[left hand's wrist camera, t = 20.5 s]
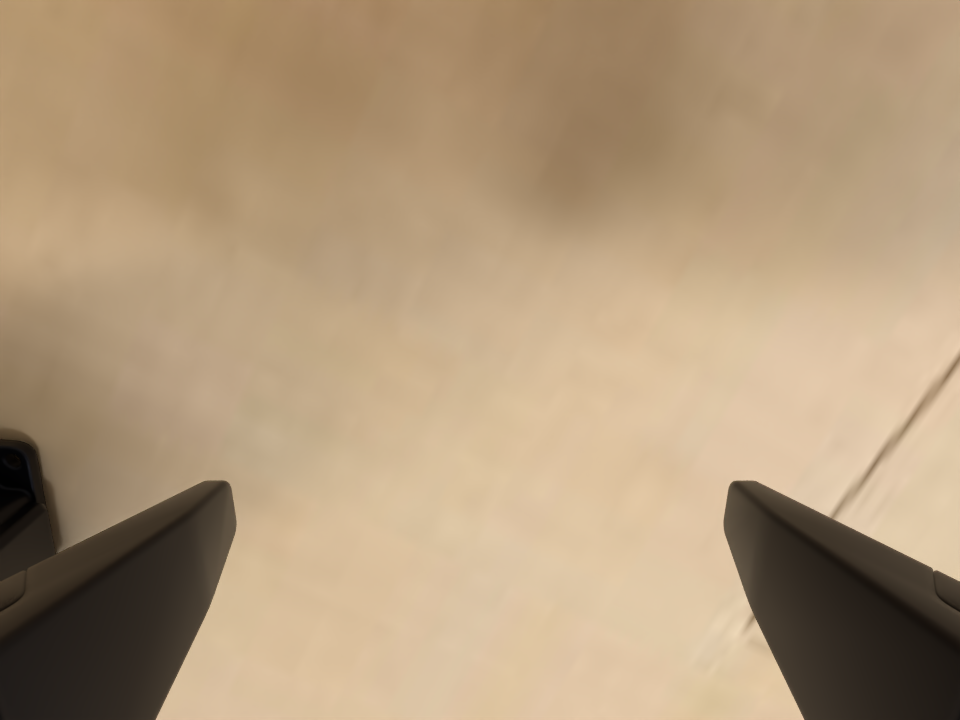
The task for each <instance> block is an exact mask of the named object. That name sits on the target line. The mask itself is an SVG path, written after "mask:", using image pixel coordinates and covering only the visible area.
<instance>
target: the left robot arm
mask: <svg viewBox="0 0 960 720" xmlns="http://www.w3.org/2000/svg"><path fill="white" fill-rule="evenodd" d="M13 454H14V455H16V456H18V457H19V458H20V460H21V461H18V460H17V459H16V458H15V457H14V455H13ZM235 532H236V515H235V509H234V502H233V496H232V489H231V486H230V484H229V483H228V482H227V481H204V482H202V483H200V484H197V485H195V486H193V487H191V488H189V489H187V490H185V491H183V492H181V493H179V494H177V495H175V496H173V497H171V498H169V499H167V500H165V501H163V502H161V503H159V504H157V505H155V506H153V507H151V508H149V509H147V510H145V511H143V512H141V513H139V514H137V515H135V516H133V517H131V518H129V519H126V520H124V521H122V522H120V523H118V524H116V525H114V526H112V527H110V528H108V529H106V530H104V531H102V532H100V533H98V534H96V535H94V536H92V537H90V538H88V539H86V540H84V541H82V542H80V543H78V544H76V545H74V546H72V547H70V548H68V549H66V550H64V551H62V552H60V553H58V554H55V548H54V543H53V537H52V532H51V526H50V520H49V515H48V511H47V508H46V503H45V497H44V491H43V486H42V480H41V475H40V469H39V463H38V458H37V454H36V452H35V450H34V449H33V448H32V447H31V446H30V445H29V444H27V443H25V442H21V441H13V440H0V720H156V718H157V716H158V713H159V711H160V709H161V707H162V705H163V703H164V701H165V699H166V697H167V695H168V693H169V691H170V689H171V686H172V684H173V682H174V680H175V678H176V676H177V674H178V672H179V670H180V668H181V666H182V664H183V662H184V659H185V657H186V655H187V653H188V651H189V649H190V647H191V645H192V643H193V641H194V639H195V637H196V635H197V632H198V630H199V628H200V626H201V624H202V622H203V620H204V618H205V616H206V613H207V611H208V609H209V607H210V604H211V602H212V599H213V596H214V594H215V591H216V588H217V585H218V582H219V579H220V576H221V573H222V570H223V567H224V565H225V562H226V559H227V556H228V553H229V550H230V547H231V544H232V541H233V538H234V535H235ZM724 532H725V535H726V538H727V541H728V544H729V547H730V550H731V553H732V556H733V559H734V562H735V565H736V567H737V570H738V573H739V576H740V579H741V582H742V585H743V588H744V591H745V594H746V596H747V599H748V602H749V604H750V607H751V609H752V611H753V613H754V616H755V618H756V620H757V622H758V624H759V626H760V628H761V630H762V632H763V635H764V637H765V639H766V641H767V643H768V645H769V647H770V649H771V651H772V653H773V655H774V657H775V659H776V662H777V664H778V666H779V668H780V670H781V672H782V674H783V676H784V678H785V680H786V682H787V684H788V687H789V689H790V691H791V693H792V695H793V697H794V699H795V701H796V703H797V705H798V707H799V709H800V711H801V714H802V716H803V718H804V720H960V581H957V580H955V579H953V578H951V577H949V576H947V575H945V574H943V573H941V572H939V571H934V572H933V569H932V568H931V567H929V566H927V565H925V564H923V563H921V562H919V561H917V560H915V559H913V558H911V557H909V556H907V555H904V554H902V553H900V552H898V551H896V550H894V549H892V548H890V547H888V546H886V545H884V544H882V543H880V542H878V541H876V540H874V539H872V538H870V537H868V536H866V535H864V534H862V533H860V532H858V531H856V530H854V529H852V528H850V527H848V526H846V525H844V524H842V523H840V522H838V521H836V520H833V519H831V518H829V517H827V516H825V515H823V514H821V513H819V512H817V511H815V510H813V509H811V508H809V507H807V506H805V505H803V504H801V503H799V502H797V501H795V500H793V499H791V498H789V497H787V496H785V495H783V494H781V493H779V492H777V491H775V490H773V489H771V488H769V487H767V486H765V485H762V484H760V483H758V482H756V481H733V482H732V483H731V484H730V486H729V489H728V495H727V502H726V509H725V515H724Z"/></svg>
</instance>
